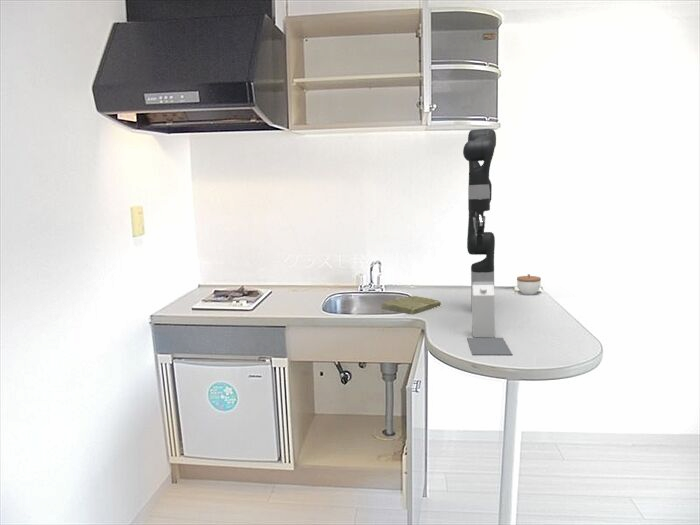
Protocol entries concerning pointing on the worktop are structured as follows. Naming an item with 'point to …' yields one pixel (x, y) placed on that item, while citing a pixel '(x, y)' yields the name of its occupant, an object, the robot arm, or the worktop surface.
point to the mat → (488, 346)
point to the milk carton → (483, 309)
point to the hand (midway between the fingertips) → (479, 245)
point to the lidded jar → (528, 284)
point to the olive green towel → (410, 304)
